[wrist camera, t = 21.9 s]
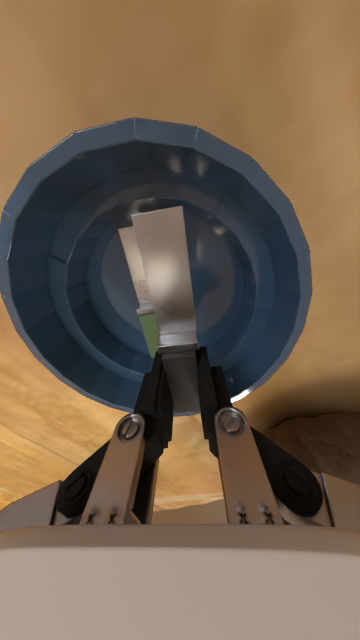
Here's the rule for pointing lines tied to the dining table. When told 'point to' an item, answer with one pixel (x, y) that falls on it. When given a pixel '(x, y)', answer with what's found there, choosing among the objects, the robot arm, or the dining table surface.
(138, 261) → the green knife
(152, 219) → the black knife
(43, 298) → the bowl
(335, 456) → the gourd
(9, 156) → the dining table surface
